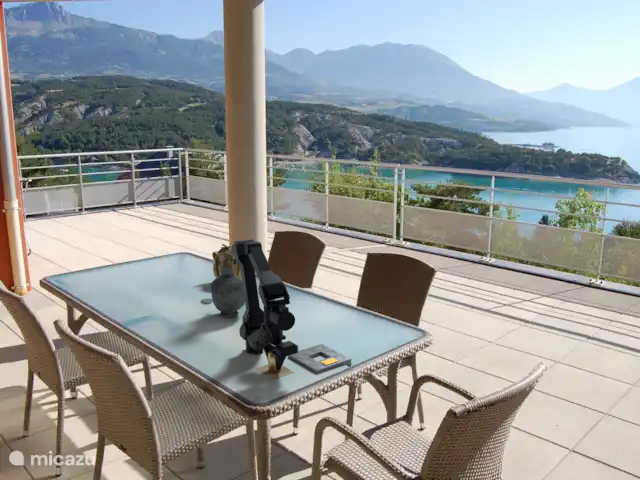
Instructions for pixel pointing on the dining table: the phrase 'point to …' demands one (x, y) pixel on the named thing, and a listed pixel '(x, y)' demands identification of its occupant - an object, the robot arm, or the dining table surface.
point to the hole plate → (330, 362)
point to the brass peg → (272, 363)
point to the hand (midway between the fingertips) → (274, 367)
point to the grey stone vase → (227, 285)
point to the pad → (273, 376)
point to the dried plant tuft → (235, 267)
